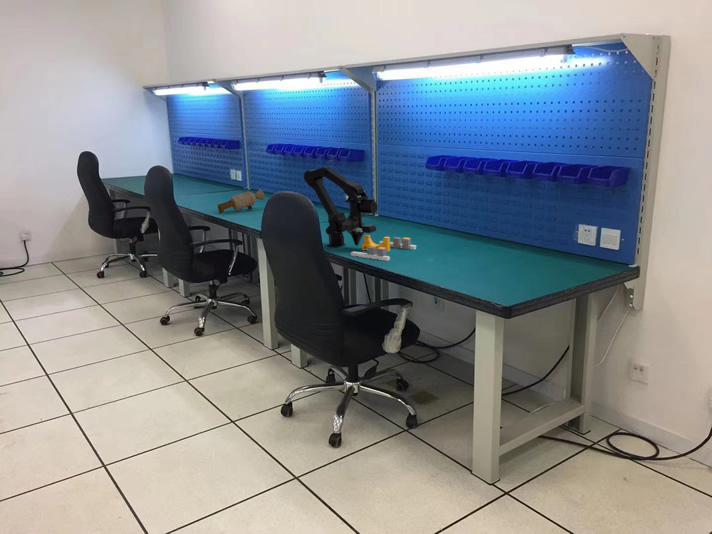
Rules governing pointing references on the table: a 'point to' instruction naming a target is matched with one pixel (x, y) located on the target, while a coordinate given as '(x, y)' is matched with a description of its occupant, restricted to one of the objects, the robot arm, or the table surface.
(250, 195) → the brown toy figure
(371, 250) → the collar track
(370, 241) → the pipe clamp
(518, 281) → the table surface
